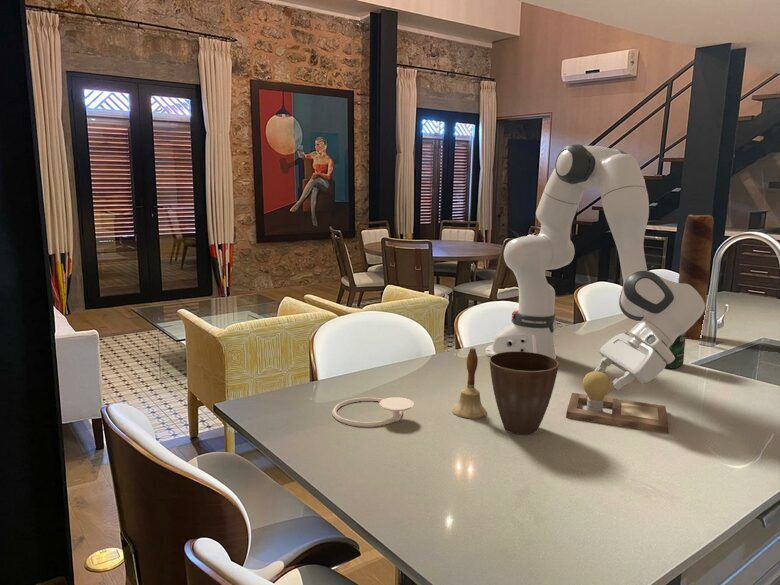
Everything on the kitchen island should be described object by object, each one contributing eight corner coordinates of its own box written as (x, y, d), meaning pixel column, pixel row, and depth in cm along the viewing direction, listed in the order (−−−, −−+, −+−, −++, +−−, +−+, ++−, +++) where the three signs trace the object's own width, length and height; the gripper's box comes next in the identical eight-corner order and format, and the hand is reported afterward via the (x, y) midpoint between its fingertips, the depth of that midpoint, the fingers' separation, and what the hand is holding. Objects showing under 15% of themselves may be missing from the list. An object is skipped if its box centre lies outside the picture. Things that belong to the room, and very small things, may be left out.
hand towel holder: (358, 380, 149) (429, 396, 139) (358, 397, 150) (428, 413, 140) (317, 400, 135) (393, 418, 124) (317, 418, 135) (393, 438, 125)
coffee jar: (674, 371, 174) (681, 310, 170) (648, 364, 179) (654, 306, 176) (687, 364, 180) (693, 306, 177) (661, 359, 186) (667, 302, 182)
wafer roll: (670, 337, 214) (683, 214, 206) (673, 331, 223) (686, 213, 215) (702, 341, 208) (716, 215, 200) (704, 335, 217) (718, 214, 209)
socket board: (566, 417, 137) (566, 410, 137) (571, 398, 150) (572, 391, 149) (668, 433, 129) (669, 426, 129) (664, 411, 142) (665, 404, 141)
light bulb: (576, 406, 144) (579, 368, 142) (601, 406, 145) (604, 367, 143) (587, 416, 138) (590, 376, 136) (613, 416, 138) (616, 376, 136)
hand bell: (489, 408, 142) (492, 345, 139) (483, 420, 135) (486, 354, 132) (456, 403, 145) (458, 342, 142) (448, 415, 137) (450, 351, 134)
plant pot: (515, 448, 120) (519, 374, 118) (473, 422, 133) (476, 355, 131) (568, 435, 127) (573, 365, 124) (523, 411, 140) (527, 348, 137)
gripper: (618, 321, 149) (579, 359, 149) (662, 342, 128) (616, 385, 129) (634, 338, 150) (594, 375, 151) (679, 361, 130) (634, 403, 131)
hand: (605, 380), depth 140 cm, fingers open, 8 cm apart
